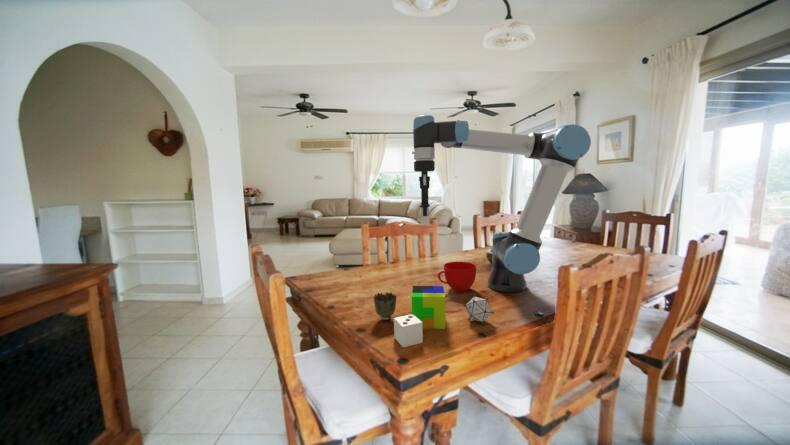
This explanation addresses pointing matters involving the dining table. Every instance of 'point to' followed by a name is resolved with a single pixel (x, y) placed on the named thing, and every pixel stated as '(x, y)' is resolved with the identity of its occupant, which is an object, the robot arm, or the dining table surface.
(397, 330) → the pip block
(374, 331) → the dining table surface
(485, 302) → the game die
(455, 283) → the ceramic cup
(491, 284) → the robot arm
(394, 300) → the cup
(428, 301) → the puzzle toy
